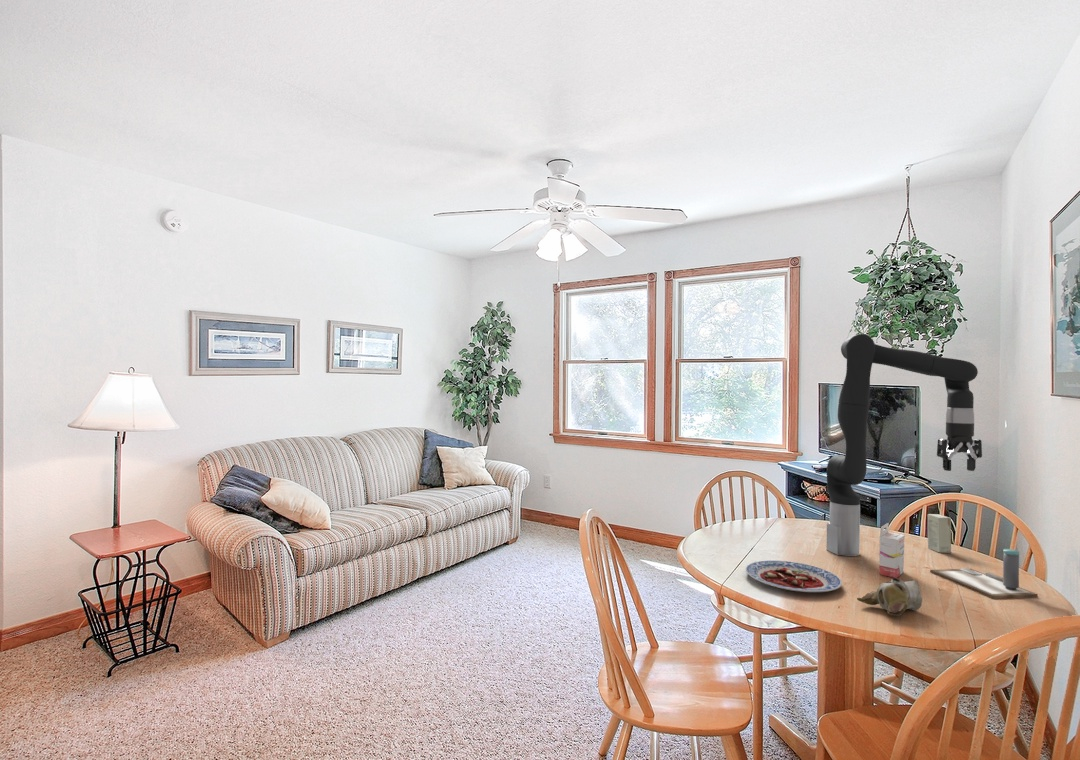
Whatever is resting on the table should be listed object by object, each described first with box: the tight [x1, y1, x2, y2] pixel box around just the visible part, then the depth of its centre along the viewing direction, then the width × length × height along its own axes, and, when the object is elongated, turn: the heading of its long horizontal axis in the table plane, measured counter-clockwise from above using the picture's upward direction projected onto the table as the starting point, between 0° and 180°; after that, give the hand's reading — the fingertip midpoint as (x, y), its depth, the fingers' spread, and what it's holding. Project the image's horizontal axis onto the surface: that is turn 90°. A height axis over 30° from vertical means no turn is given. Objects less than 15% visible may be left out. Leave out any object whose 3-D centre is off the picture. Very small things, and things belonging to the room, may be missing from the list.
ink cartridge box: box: [878, 522, 906, 579], centre depth 173 cm, size 9×5×15 cm, turn 134°
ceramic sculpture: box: [856, 577, 923, 617], centre depth 144 cm, size 11×9×15 cm
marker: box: [1002, 548, 1020, 590], centre depth 159 cm, size 4×4×11 cm
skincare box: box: [927, 513, 952, 554], centre depth 198 cm, size 6×4×12 cm
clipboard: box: [929, 568, 1039, 599], centre depth 165 cm, size 14×21×2 cm, turn 7°
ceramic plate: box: [745, 560, 843, 593], centre depth 165 cm, size 26×26×3 cm
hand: (959, 470), depth 185 cm, fingers open, 8 cm apart
